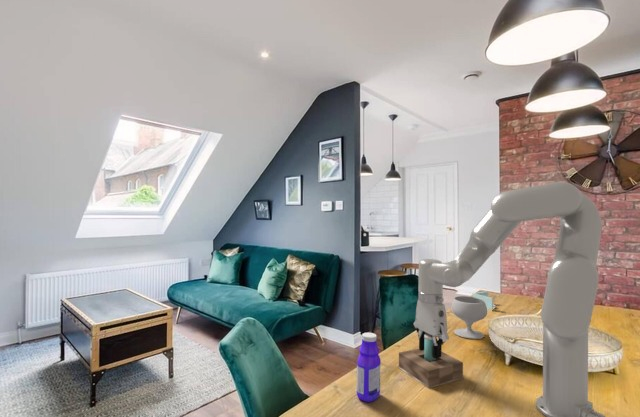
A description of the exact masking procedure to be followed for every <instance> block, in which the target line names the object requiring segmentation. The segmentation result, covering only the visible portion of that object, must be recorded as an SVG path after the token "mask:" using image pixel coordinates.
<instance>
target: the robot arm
mask: <svg viewBox="0 0 640 417" xmlns="http://www.w3.org/2000/svg"><path fill="white" fill-rule="evenodd" d="M556 217H558V220H559V223H560V227H559V231H558V232H559V234H558V237H557V238H558V239H557V240H558V241H557V245H556V250H555V254H554V256H553V257H554V258H553V259H552V262H551V263H550V266H549V269H548V275H547V280H546V286H545V291H544V296H543V301H542V305H541V311H540V318H541V322H542V324H543V325H542V326H543V327H542V329H543V330H542V336H543V337H542V395H541V396H538V397H536V399H535V407H536V408H537V410H538V411H539V412H540V413H542V414H543V415H544V416H545V417H606V415H604V414H603V413H601V412H597V411H595V409H594V405H593V404H594V403H593V402H591V401H589V328H590V324H591V321H592V316H593V312H594V307H595V302H596V298H597V293H598V287H599V276H600V275H599V271H598V269H597V263H598V262H597V261H598V256H599V251H600V243H601V236H602V228H603V226H602V225H603V224H602V223H603V222H602V217H601V214H600V211H599V210H598V207H597V206H596V204H595V202H593V200H592V199H591V198H590V197H588V196H587V195H586V194H584V193H583V192H581V190H580V189H579V188H578V187H577V186H575V185H574V184H572V183H569V182H566V181H555V182H549V183H544V184H538V185H535V186H533V185H532V186H528V187H524V188H518V189H512V190H506V191H501V192H500V193H498V194H497V195H495V196H494V198H493V199H492V201H491V204H490V208H489V210H488V211H487V212H486V213H485V215H484V216H483V217H482V218H481V219H480V220H479V222H478V223H476V226H474V228H472V230H471V232H470V236H469V240H468V242H467V244H466V245H465V246H464V248H463V249H462V250H461V251H460V252H459V254H458V255H456V257H455V258H454V259H453V260H451V261H449V262H448V261H446V262H442V261H441V260H439V259H433V258H432V259H431V258H424V259H420V260H419V262H418V288H417V289H418V290H417V291H418V293H417V294H418V298H417V302H416V309H415V320H414V322H412V323H413V326H414V328H415V331H416V333H417V338H418V349H419V350H420V351H422V350H424V334H425V333H428V334H430V335H432V337H433V342H434V345H433V346H432V357H433V358H438V357H441V351H442V346H443V345H444V343H445V342H447V341H449V340H450V337H449V335H448V321H447V320H448V319H447V318H448V317H447V311H446V306H445V304H444V301H445V300H444V296H443V294H444V290H443V288H444V287H443V286H446V287H450V288H456V287H460V286H462V285H463V284H464V283H466V282H467V281H470V280H471V279H472V277H473V276H474V275H475V274H476V273H477V272H478V271H479V270H480V268H481V267H483V265H484V264H485V263H486V261H487V260H488V259H489V258H490V257H491V256H492V255H493V254H494V253H495V252H496V251H497V250H498V249H499V248H500V247H501V245H502V244H503V243H504V242H505V241H506V239H507V238H508V237H510V235H511V234H512V232H513V231H514V230H516V229H517V227H518V226H519V225H520V224H521V222H527V221H535V220H541V219H548V218H550V219H551V218H556ZM437 338H438V339H437Z"/></svg>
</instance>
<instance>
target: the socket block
mask: <svg viewBox="0 0 640 417" xmlns="http://www.w3.org/2000/svg"><path fill="white" fill-rule="evenodd" d="M397 368H398V369H399V370H402V371H403V372H404V373H405V374H406V375H408V376H410V377H411V378H413V379H414V380H416V381H417V382H418V383H420V384H421V385H422V386H424V387H426V388H427V389H431V388H435V387H438V386H441V385H445V384H449V383H453V382H457V381H460V380H464V379H465V378H464V361H461V360H459V359H457V358H455V357H453V356H451V355H449V354H447V353H445V352H444V351H442V350H441V357H438V358H436V361H433V362H428V361H426V360H425V359H424V350H422V351H420V350H419V348H415V349H411V350H406V351H405V350H404V351H401V352H398V366H397Z"/></svg>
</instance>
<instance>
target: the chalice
mask: <svg viewBox="0 0 640 417" xmlns="http://www.w3.org/2000/svg"><path fill="white" fill-rule="evenodd" d="M451 311H452V313H453V314H454V315H455V316H456V317H457V318H459V319H460V320H462V321H463V322H465V325H466V327H465V328H463V327H462V328H456V329H454V330H453V333H454V334H455V335H456V336H459V337H460V338H461V337H462V338H464V339H469V340H481V339H484V338H485V337H484V335H485V334H484V333H483V332H481V331H479V330H478V329H477V330H476V329H472V325H473V324H474V323H476V322H479V321H482V320H484V319H485V318H486V317H487V315H488V310H487V307H486V304H485V302H484V301H483V300H482V299H479V298H475V297H472V296H466V295H465V296H464V295H462V296H461V295H460V296H455V297H454V299H453V300H452V303H451ZM483 337H484V338H483Z"/></svg>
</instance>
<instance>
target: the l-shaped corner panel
mask: <svg viewBox="0 0 640 417" xmlns="http://www.w3.org/2000/svg"><path fill="white" fill-rule="evenodd" d="M488 293H489V291H478V292H474V293H472V294H471V295H472V296H471V297H475V298H479V299H482V300H483V301H484V302H485V304H486V307H487V309H491V310H493V311H494V309H493V307H495V308H497V305H496V304H494V297H491V296H489V294H488Z"/></svg>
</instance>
